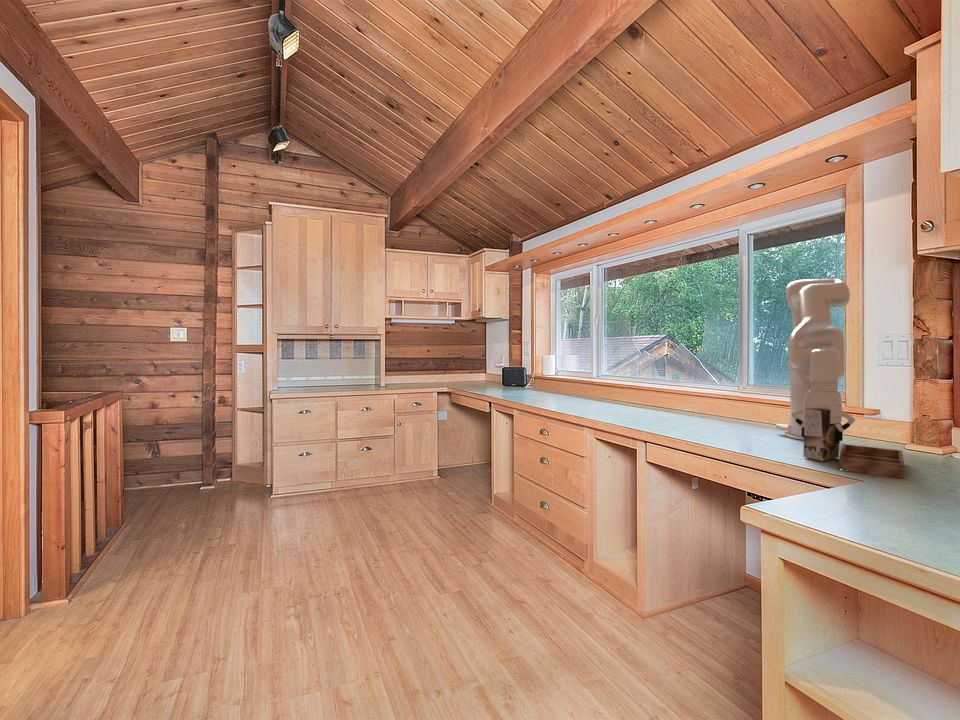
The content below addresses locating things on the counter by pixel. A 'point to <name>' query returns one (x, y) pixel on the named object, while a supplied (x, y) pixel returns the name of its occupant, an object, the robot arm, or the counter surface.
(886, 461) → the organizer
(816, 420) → the coffee box
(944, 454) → the counter surface
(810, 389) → the robot arm
